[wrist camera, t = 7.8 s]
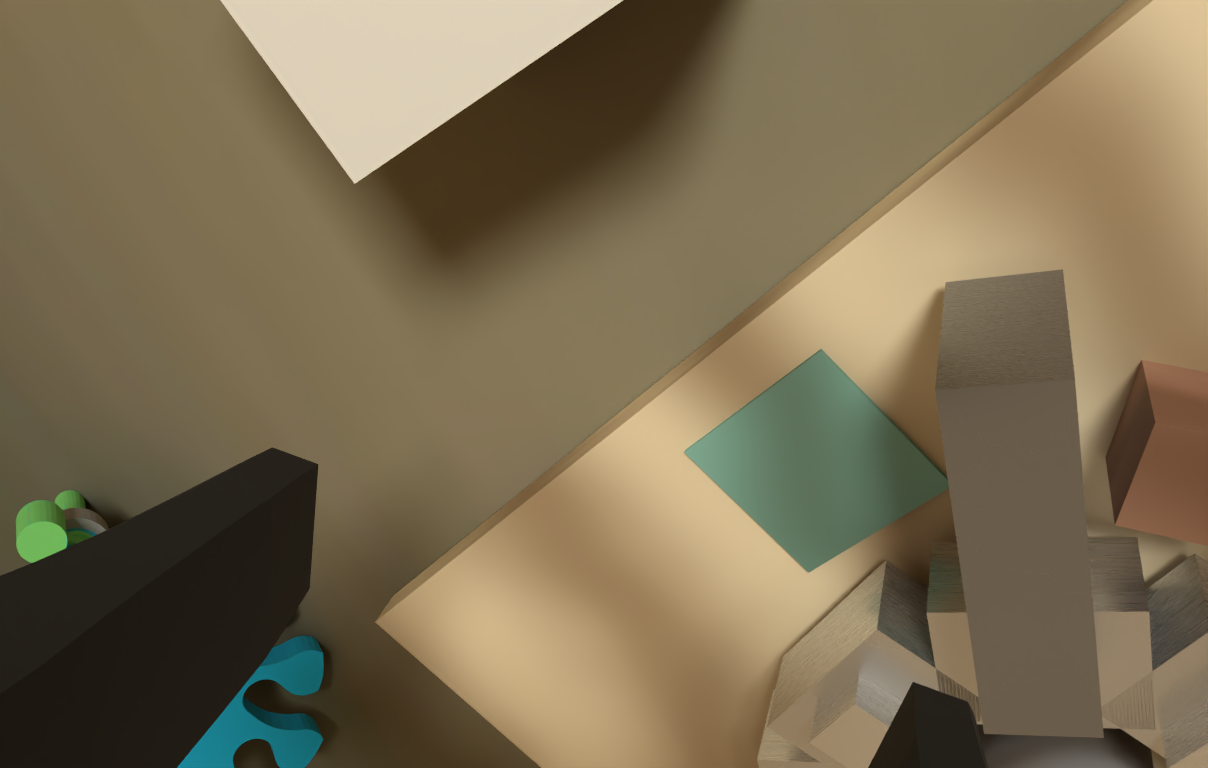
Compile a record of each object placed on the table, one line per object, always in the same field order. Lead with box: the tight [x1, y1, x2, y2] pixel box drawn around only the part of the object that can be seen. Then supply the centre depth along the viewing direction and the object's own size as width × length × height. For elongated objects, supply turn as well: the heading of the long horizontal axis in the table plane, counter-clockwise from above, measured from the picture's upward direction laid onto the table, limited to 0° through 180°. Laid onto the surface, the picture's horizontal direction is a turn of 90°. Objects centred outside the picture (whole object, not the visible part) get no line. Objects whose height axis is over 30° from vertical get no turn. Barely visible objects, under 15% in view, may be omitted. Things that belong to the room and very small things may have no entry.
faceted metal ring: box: [757, 269, 1208, 768], centre depth 20 cm, size 16×11×4 cm
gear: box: [16, 490, 324, 768], centre depth 30 cm, size 11×6×10 cm
